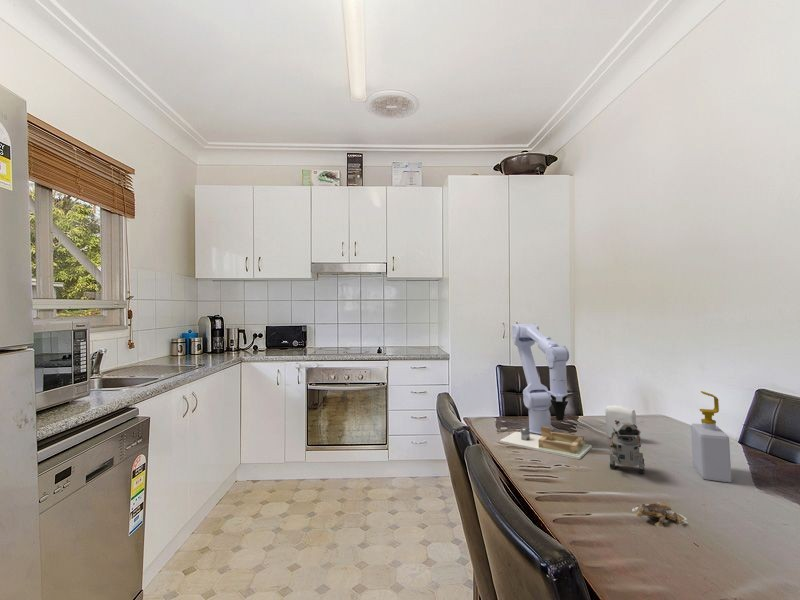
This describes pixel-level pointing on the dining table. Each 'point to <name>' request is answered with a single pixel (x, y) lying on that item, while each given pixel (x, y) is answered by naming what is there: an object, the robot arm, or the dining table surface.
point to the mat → (570, 453)
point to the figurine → (626, 445)
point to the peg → (525, 433)
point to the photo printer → (618, 416)
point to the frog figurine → (660, 513)
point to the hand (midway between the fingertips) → (559, 417)
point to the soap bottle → (711, 447)
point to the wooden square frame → (559, 446)
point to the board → (535, 444)
